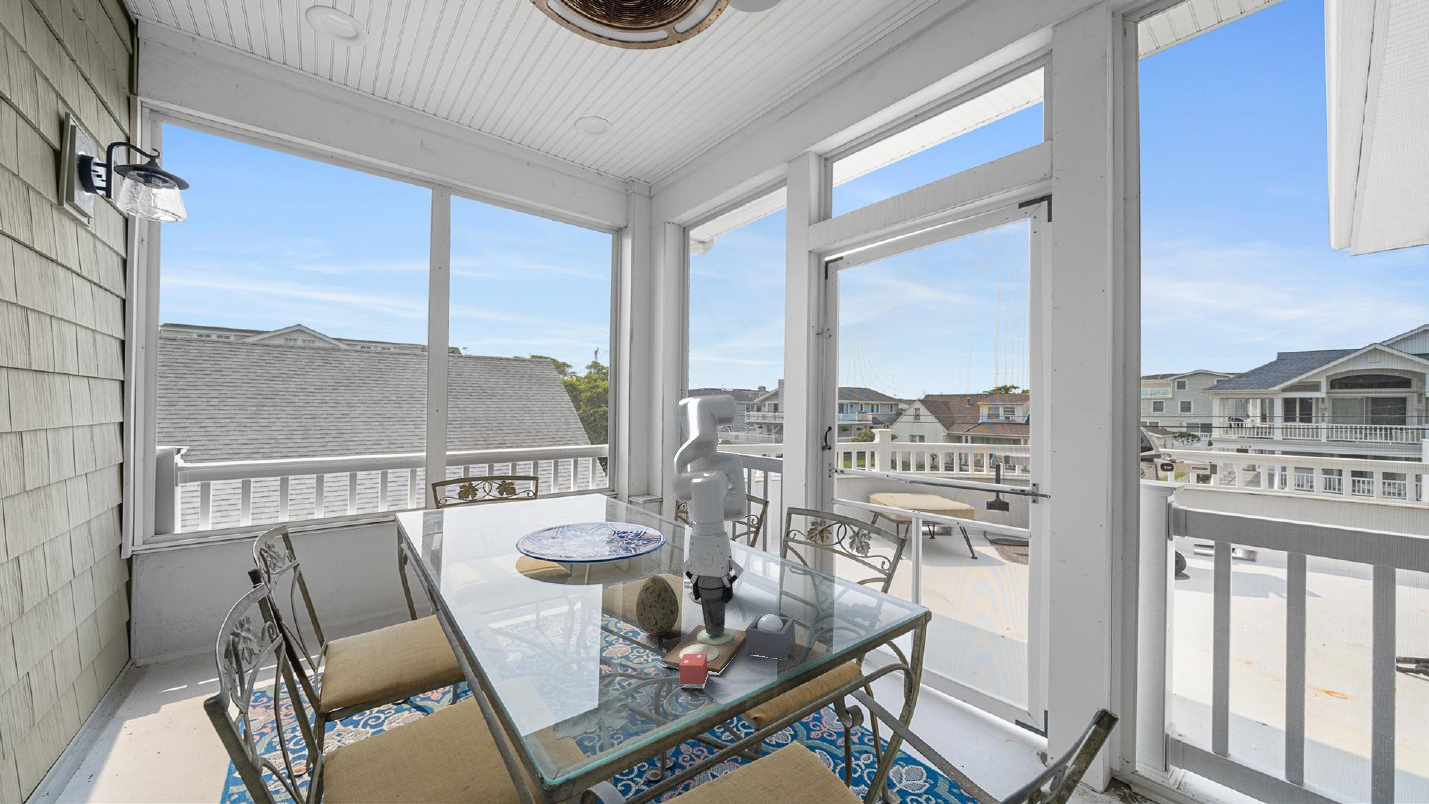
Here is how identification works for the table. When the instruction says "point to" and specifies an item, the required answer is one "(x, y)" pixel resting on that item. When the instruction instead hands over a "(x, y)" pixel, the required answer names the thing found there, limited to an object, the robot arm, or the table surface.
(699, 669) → the die
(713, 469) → the robot arm
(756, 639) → the housing
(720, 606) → the beverage cup
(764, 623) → the white ball
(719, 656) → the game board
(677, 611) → the decorative egg
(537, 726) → the table surface
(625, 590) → the table surface
